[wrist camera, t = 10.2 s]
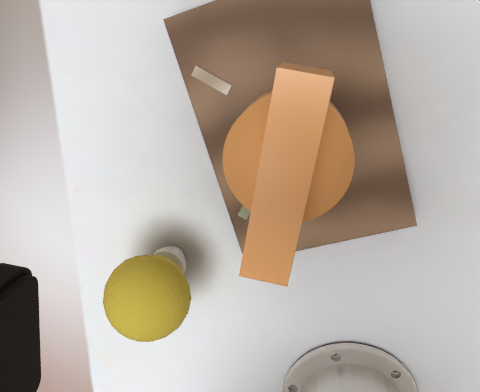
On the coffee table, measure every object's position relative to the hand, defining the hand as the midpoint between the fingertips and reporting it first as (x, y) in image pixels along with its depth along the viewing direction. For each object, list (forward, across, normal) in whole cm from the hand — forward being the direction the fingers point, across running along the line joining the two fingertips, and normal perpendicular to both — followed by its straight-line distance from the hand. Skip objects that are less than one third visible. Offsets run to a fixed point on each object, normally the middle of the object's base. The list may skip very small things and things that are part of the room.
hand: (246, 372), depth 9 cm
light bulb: (+28, +9, +14) cm, 33 cm away
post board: (+28, 0, 0) cm, 28 cm away
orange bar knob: (+20, 0, 0) cm, 20 cm away
